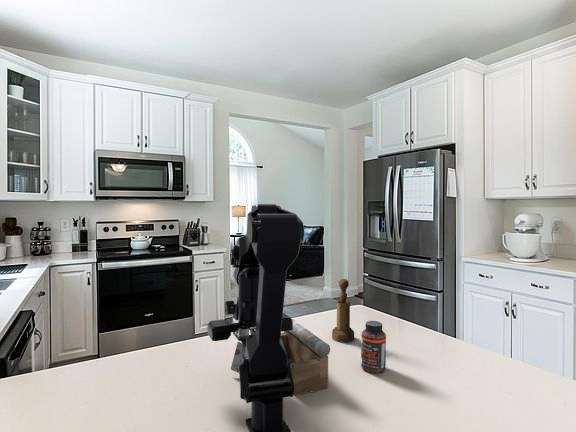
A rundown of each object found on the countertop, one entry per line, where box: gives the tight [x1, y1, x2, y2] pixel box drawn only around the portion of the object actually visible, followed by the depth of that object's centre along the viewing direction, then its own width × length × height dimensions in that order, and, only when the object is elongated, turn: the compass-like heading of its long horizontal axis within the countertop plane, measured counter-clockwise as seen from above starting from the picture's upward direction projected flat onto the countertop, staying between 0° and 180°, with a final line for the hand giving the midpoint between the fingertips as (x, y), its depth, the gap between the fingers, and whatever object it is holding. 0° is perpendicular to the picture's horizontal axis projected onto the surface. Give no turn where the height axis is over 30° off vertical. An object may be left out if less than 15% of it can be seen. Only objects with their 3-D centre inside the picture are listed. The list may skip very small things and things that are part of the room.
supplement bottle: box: [360, 320, 387, 374], centre depth 87 cm, size 6×6×11 cm
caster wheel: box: [230, 341, 245, 374], centre depth 86 cm, size 7×11×10 cm
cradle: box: [281, 317, 331, 397], centre depth 85 cm, size 20×8×10 cm, turn 23°
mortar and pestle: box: [331, 278, 355, 343], centre depth 107 cm, size 7×6×18 cm
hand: (250, 363), depth 81 cm, fingers closed
